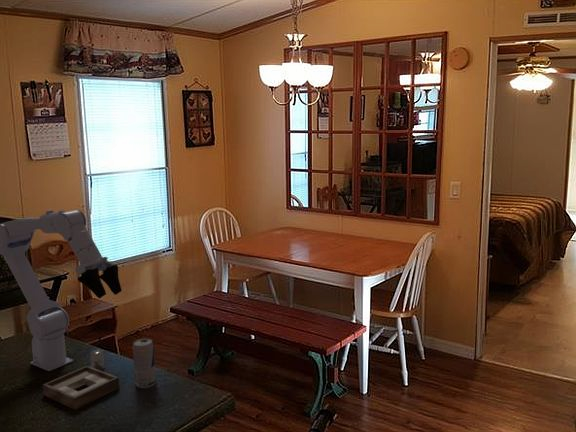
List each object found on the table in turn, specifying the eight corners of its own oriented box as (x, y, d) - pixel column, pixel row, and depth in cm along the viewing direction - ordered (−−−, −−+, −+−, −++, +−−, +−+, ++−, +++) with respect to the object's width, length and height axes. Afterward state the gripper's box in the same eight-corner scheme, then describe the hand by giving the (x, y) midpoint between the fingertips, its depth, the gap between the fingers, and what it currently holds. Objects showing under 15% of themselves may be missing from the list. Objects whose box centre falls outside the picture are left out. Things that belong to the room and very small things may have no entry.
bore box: (43, 395, 147) (42, 384, 147) (88, 375, 158) (87, 365, 158) (75, 409, 140) (74, 398, 139) (119, 387, 150) (118, 377, 150)
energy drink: (157, 379, 155) (155, 337, 153) (153, 388, 150) (151, 345, 148) (138, 379, 155) (135, 338, 153) (133, 389, 150) (130, 346, 147)
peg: (88, 369, 162) (87, 353, 161) (99, 364, 165) (97, 348, 164) (96, 372, 160) (95, 356, 159) (107, 367, 163) (105, 351, 162)
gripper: (80, 243, 143) (106, 289, 141) (112, 241, 157) (136, 283, 155) (60, 258, 144) (85, 304, 142) (93, 255, 158) (116, 297, 156)
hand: (110, 294), depth 149 cm, fingers open, 7 cm apart
